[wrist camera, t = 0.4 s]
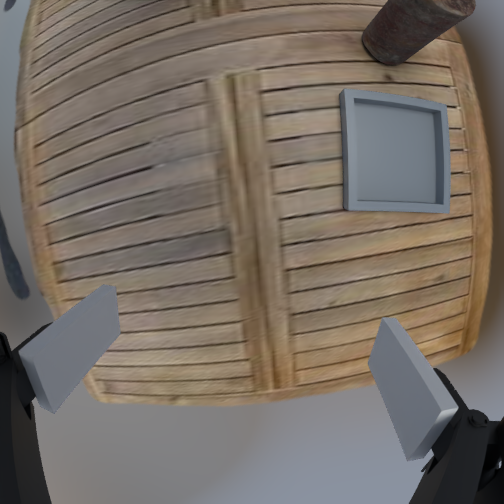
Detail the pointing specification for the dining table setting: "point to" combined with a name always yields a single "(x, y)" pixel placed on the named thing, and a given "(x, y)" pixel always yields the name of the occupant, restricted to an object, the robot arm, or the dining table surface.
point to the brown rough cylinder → (411, 26)
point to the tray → (394, 153)
